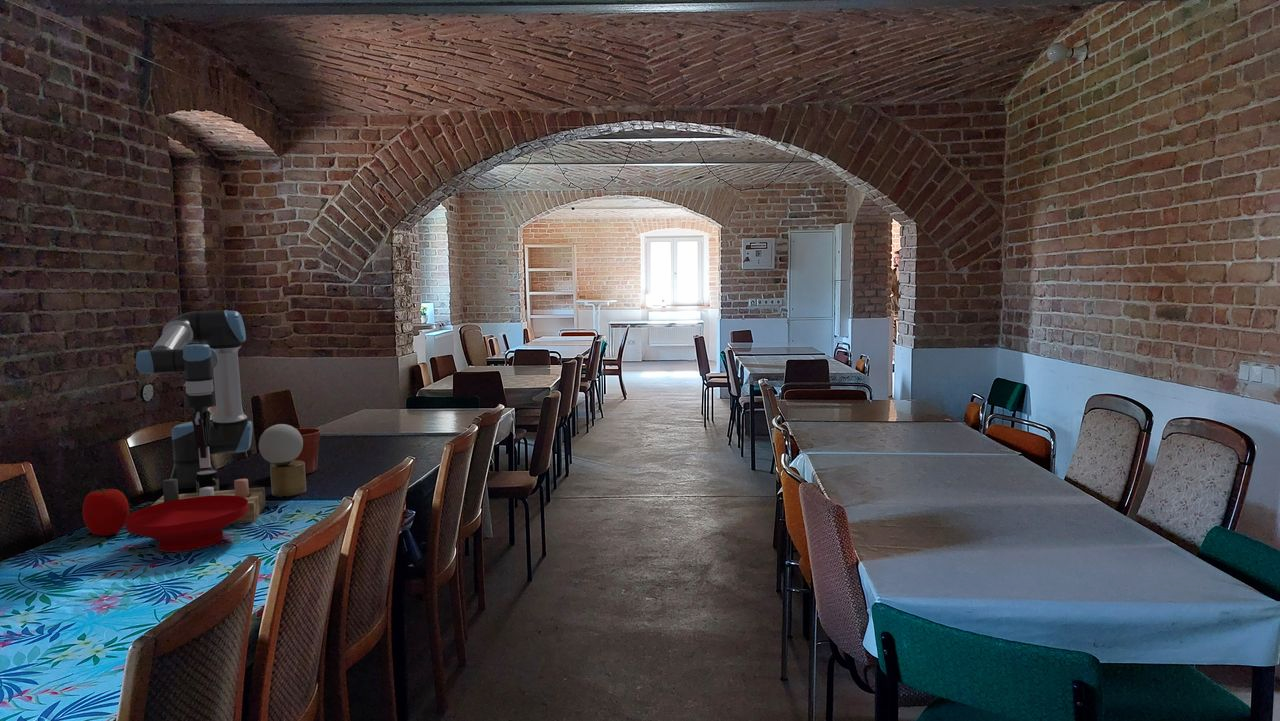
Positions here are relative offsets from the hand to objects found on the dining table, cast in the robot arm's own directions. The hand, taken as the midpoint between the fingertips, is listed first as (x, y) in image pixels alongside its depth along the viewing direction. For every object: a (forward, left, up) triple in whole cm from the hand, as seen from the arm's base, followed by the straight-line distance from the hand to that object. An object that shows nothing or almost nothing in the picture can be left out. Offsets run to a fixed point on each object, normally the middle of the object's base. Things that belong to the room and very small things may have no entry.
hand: (205, 467), depth 244 cm
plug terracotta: (0, +10, -14) cm, 17 cm away
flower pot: (-57, +20, -17) cm, 63 cm away
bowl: (+27, +1, -17) cm, 31 cm away
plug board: (0, 0, -16) cm, 16 cm away
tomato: (+8, -25, -17) cm, 31 cm away
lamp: (-22, +19, -16) cm, 34 cm away
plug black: (0, -10, -12) cm, 16 cm away
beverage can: (-13, -3, -17) cm, 21 cm away
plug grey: (0, 0, -16) cm, 16 cm away
